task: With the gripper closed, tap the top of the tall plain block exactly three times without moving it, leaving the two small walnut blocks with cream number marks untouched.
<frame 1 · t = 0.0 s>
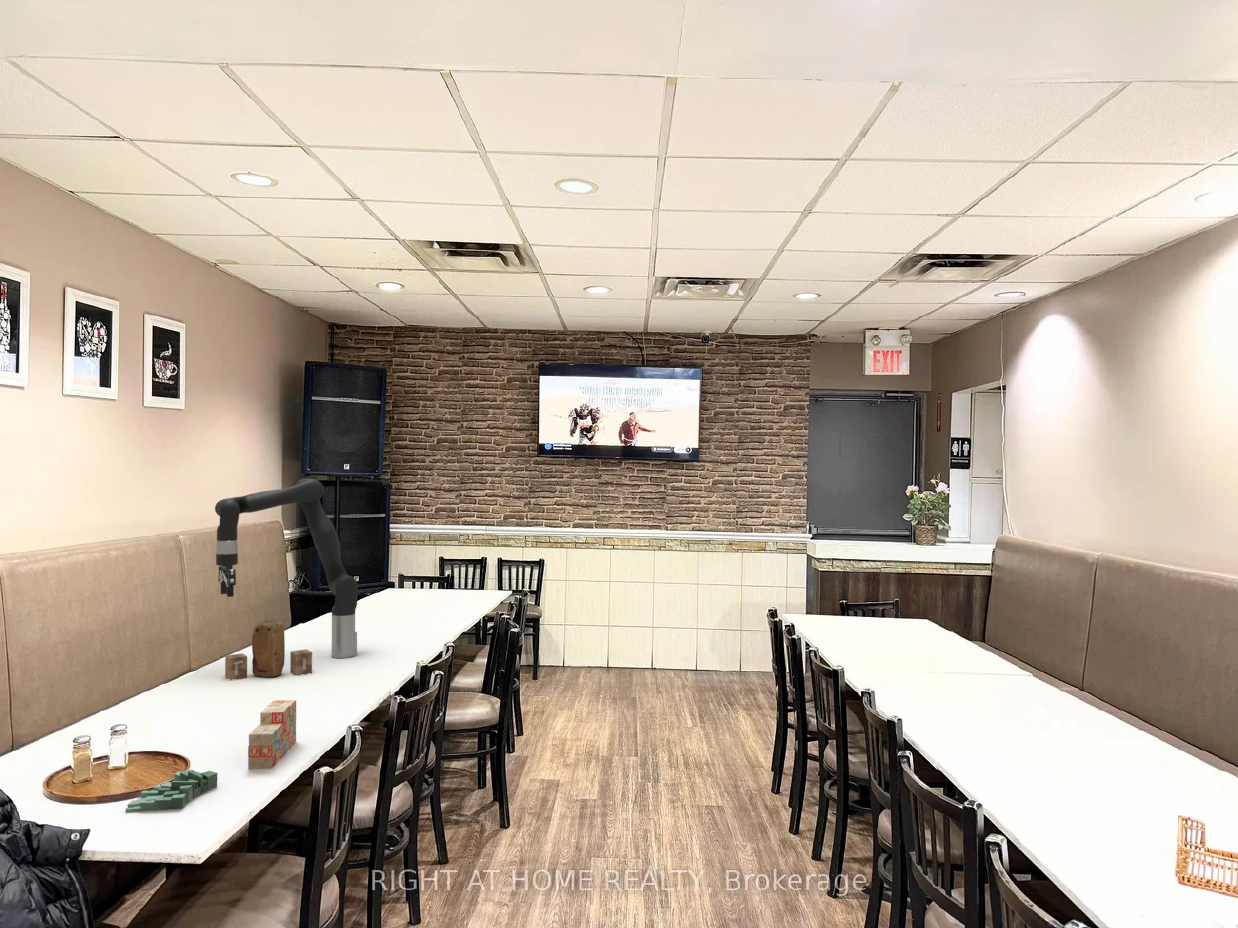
hand: (226, 595, 318), 29 cm above the table, tool pointing down, fingers open, 8 cm apart
walnut block one: (301, 672, 319), on the table
walnut block seven: (236, 677, 312), on the table
block: (267, 675, 315), on the table
stack of blocks: (273, 756, 230), on the table
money: (177, 796, 203), on the table
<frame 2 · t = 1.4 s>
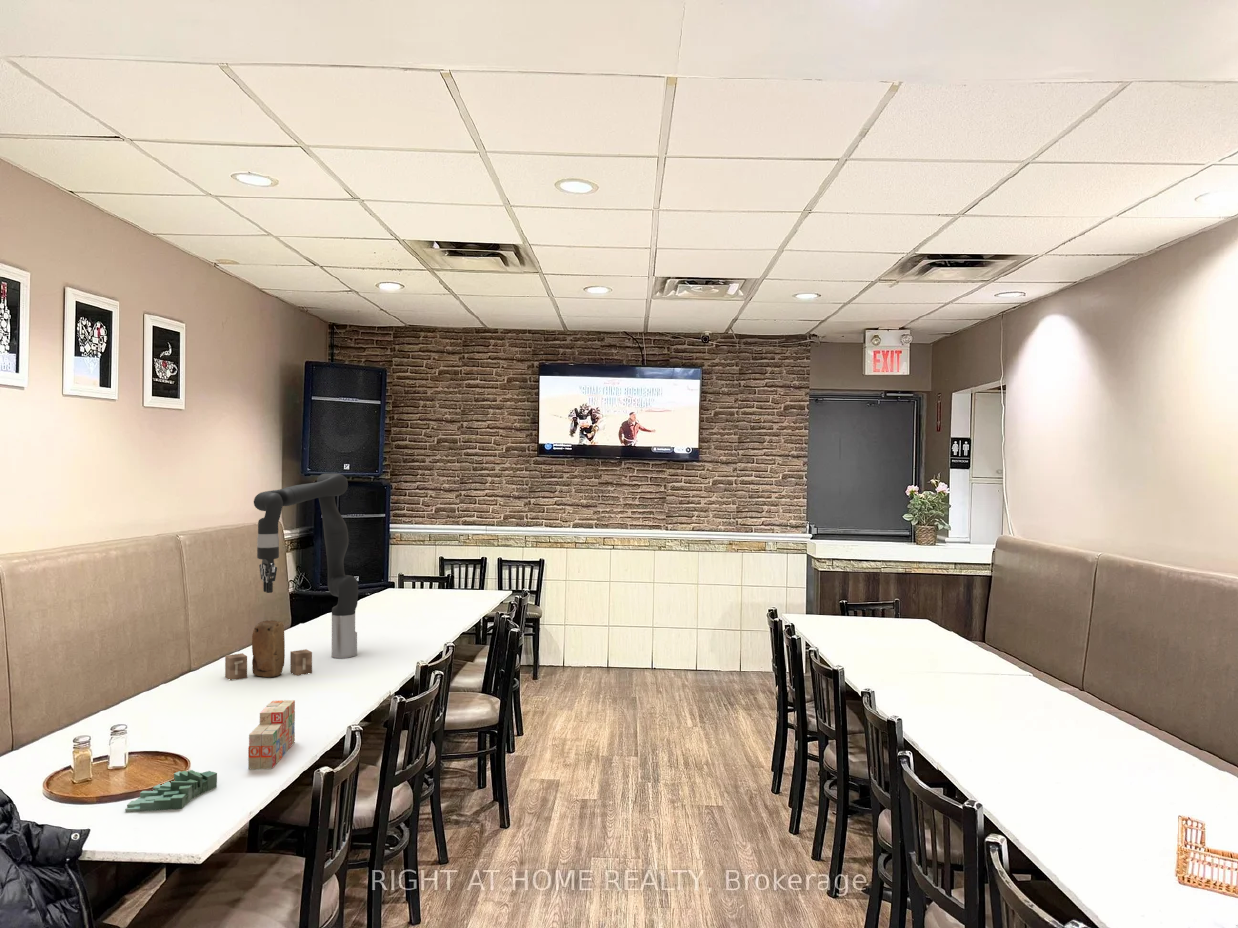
hand: (267, 591, 315), 31 cm above the table, tool pointing down, fingers closed
nothing on the table moved.
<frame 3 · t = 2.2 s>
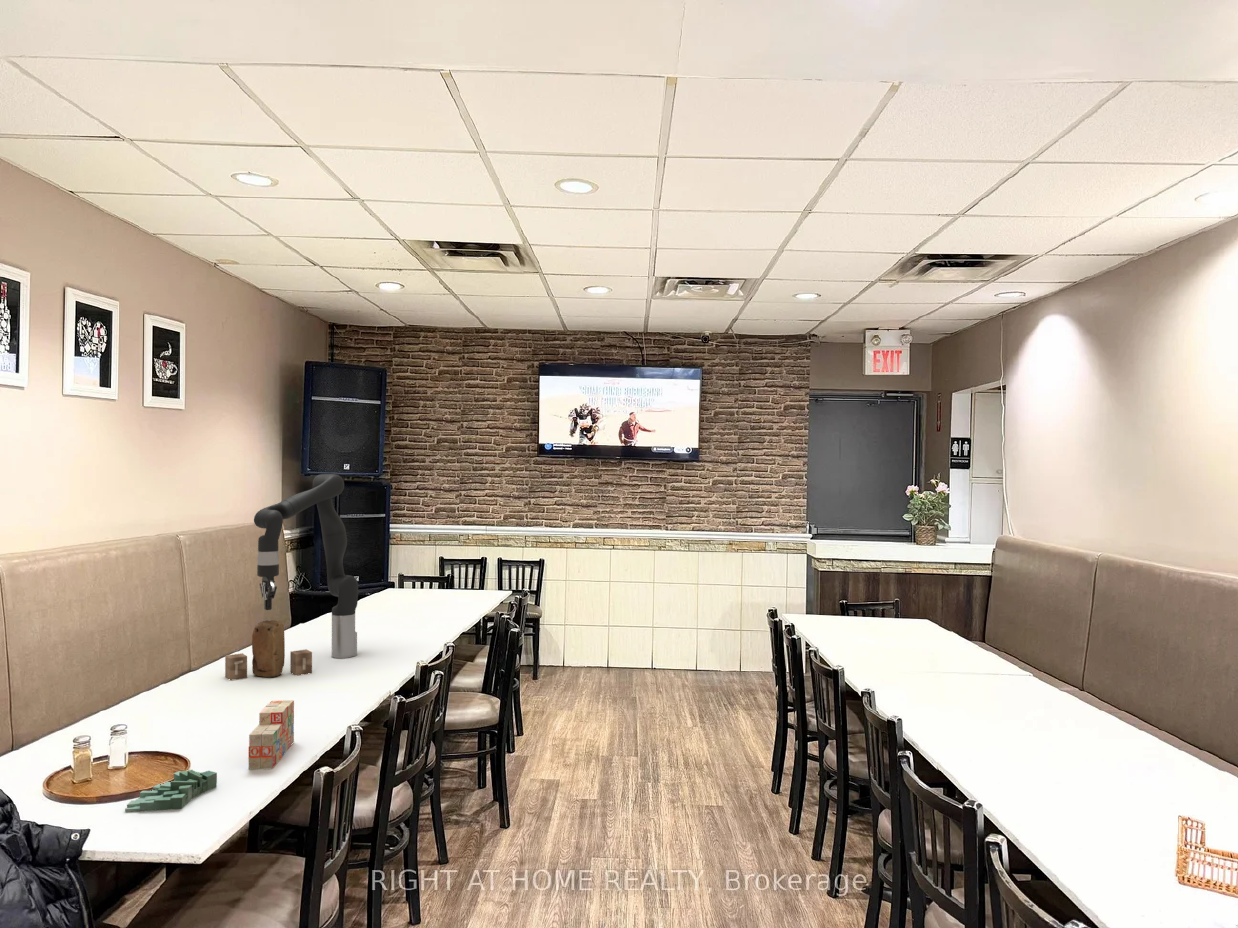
hand: (267, 609, 315), 24 cm above the table, tool pointing down, fingers closed
nothing on the table moved.
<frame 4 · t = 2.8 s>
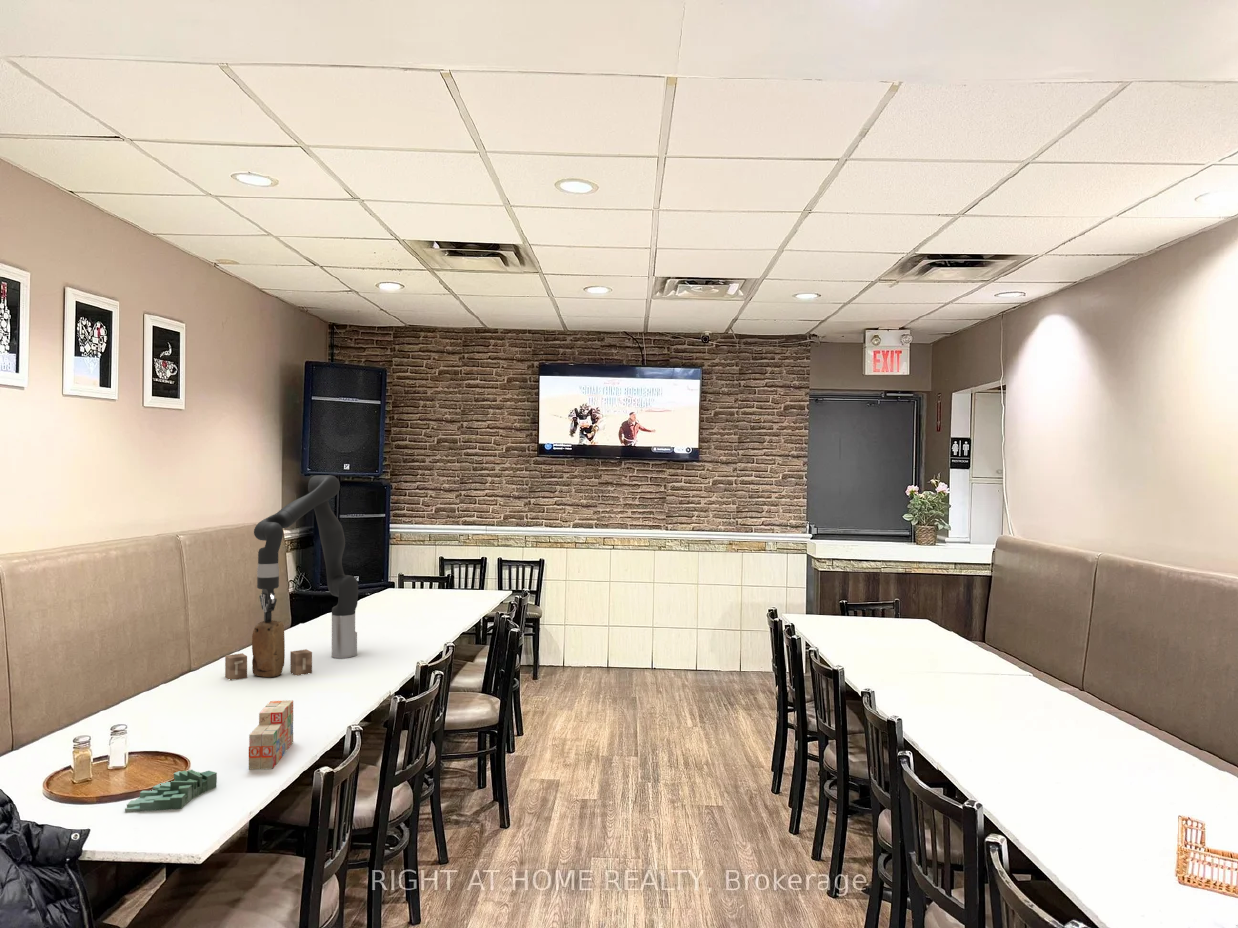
hand: (267, 621, 315), 20 cm above the table, tool pointing down, fingers closed
block: (267, 675, 315), on the table, touching gripper
everything else where it was.
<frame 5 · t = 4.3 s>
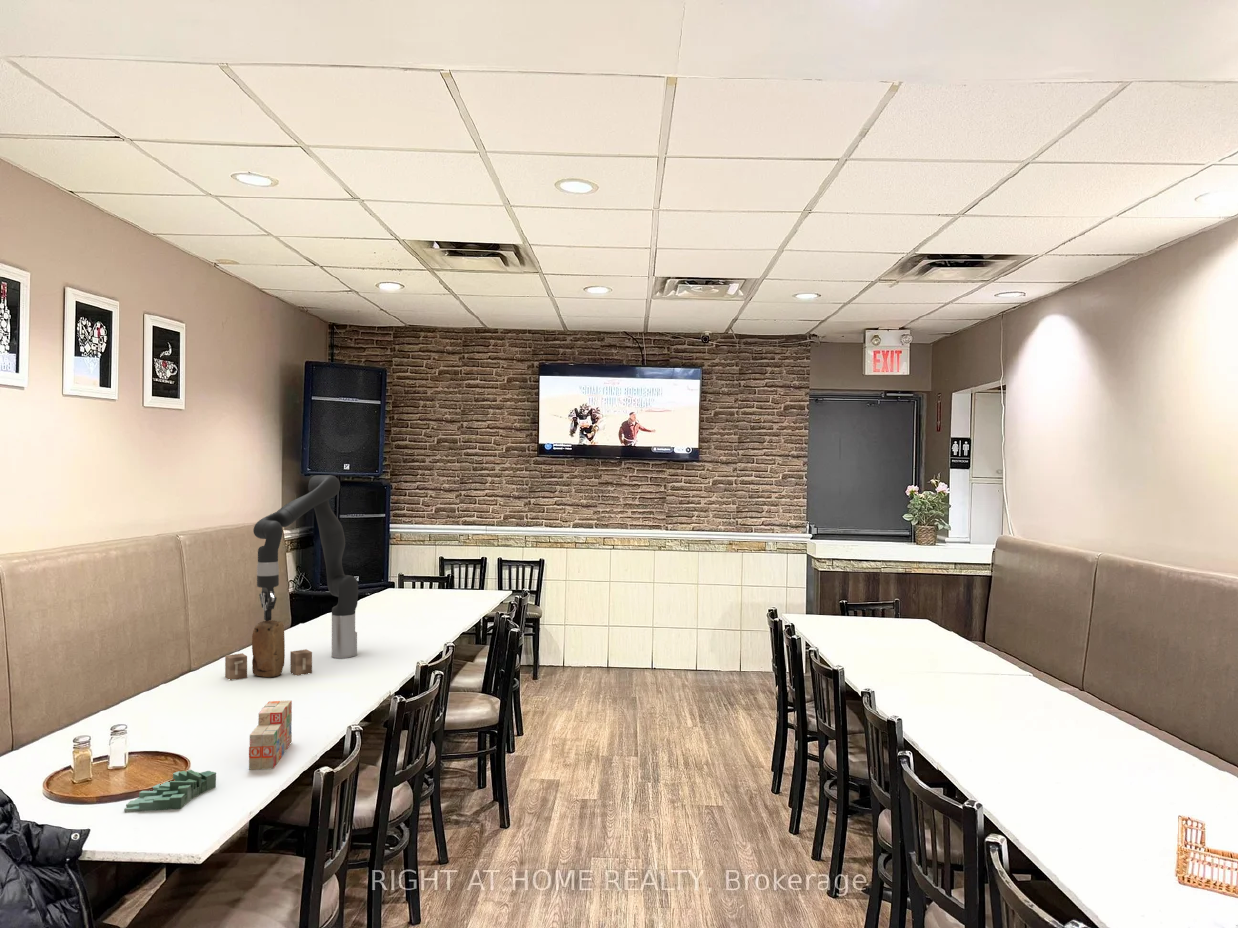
hand: (267, 620, 315), 21 cm above the table, tool pointing down, fingers closed
block: (267, 675, 315), on the table
everything else where it was.
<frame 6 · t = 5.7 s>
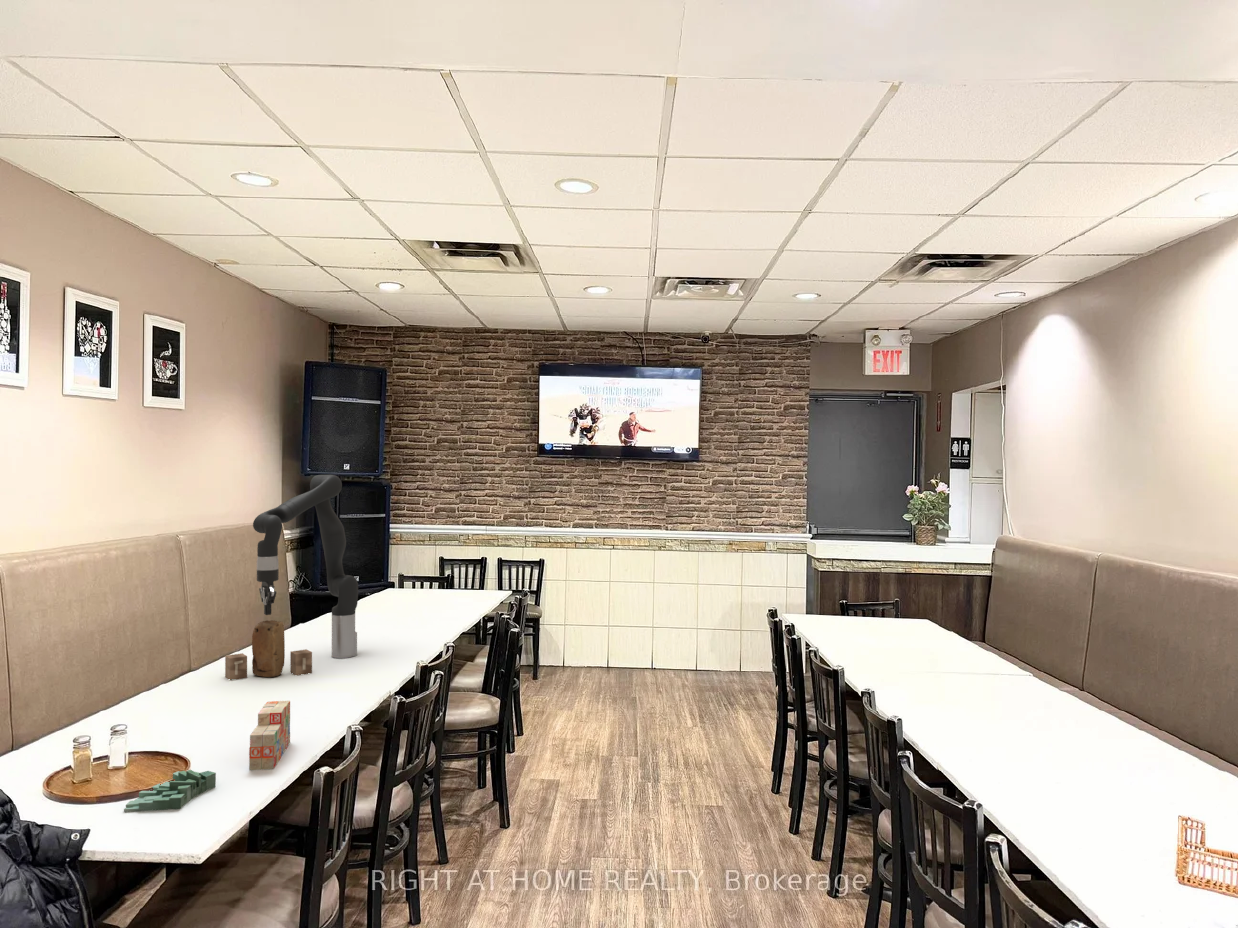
hand: (267, 614, 315), 23 cm above the table, tool pointing down, fingers closed
nothing on the table moved.
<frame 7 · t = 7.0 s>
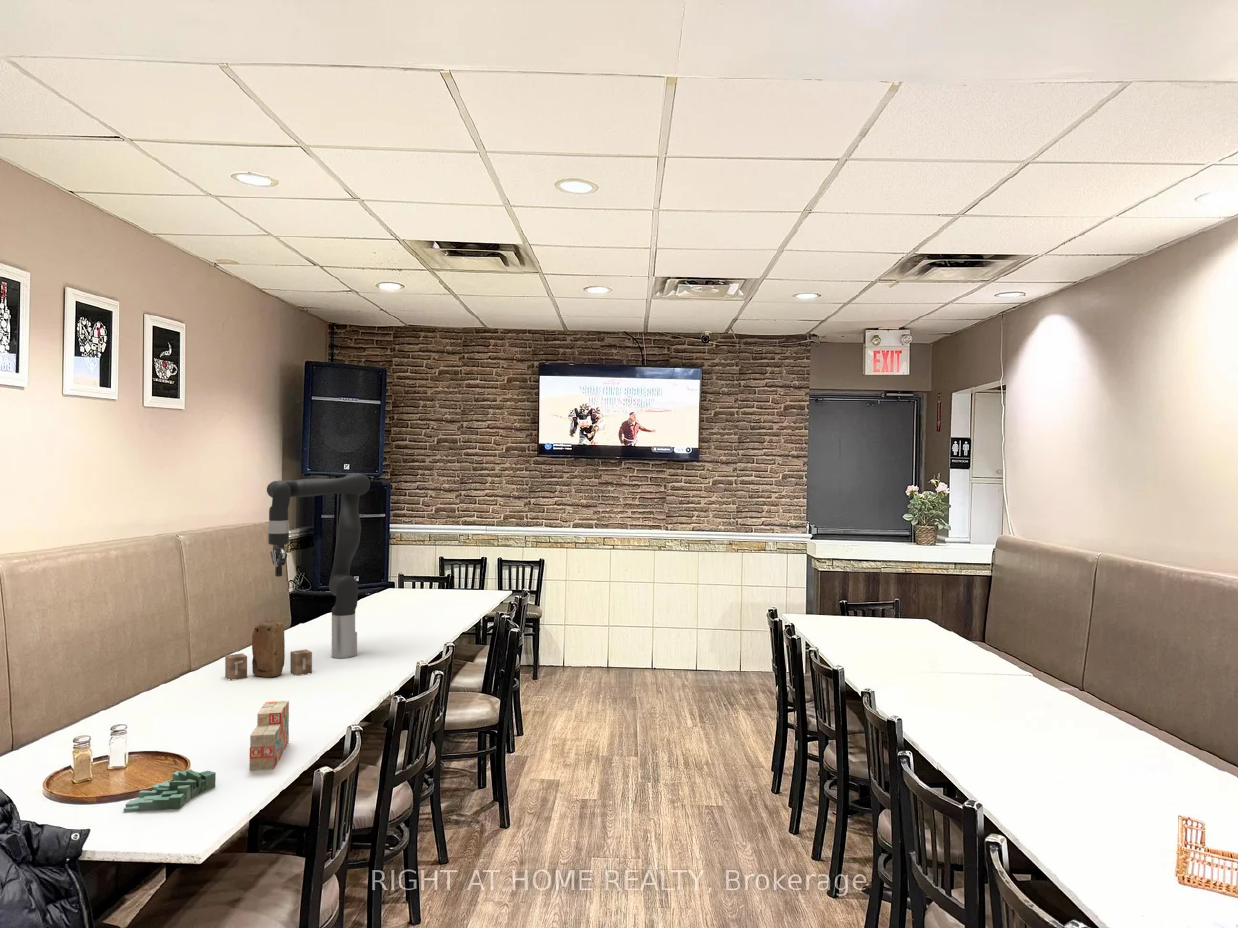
hand: (278, 576, 330), 35 cm above the table, tool pointing down, fingers closed
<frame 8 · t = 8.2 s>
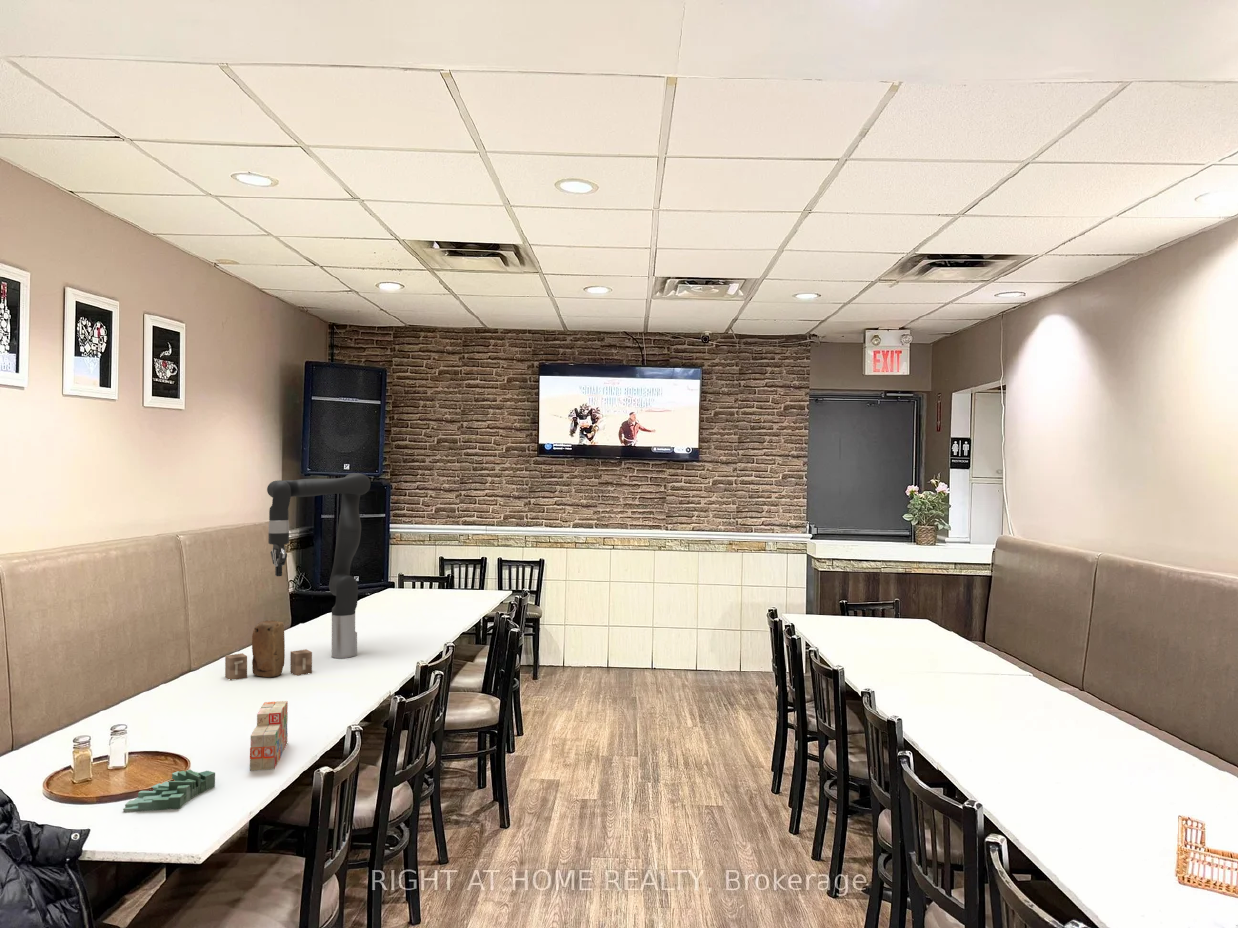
hand: (278, 575, 330), 35 cm above the table, tool pointing down, fingers closed
at the end: block moved 0.2 cm from its start; block tilted 0°; walnut block seven moved 0.1 cm from its start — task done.
